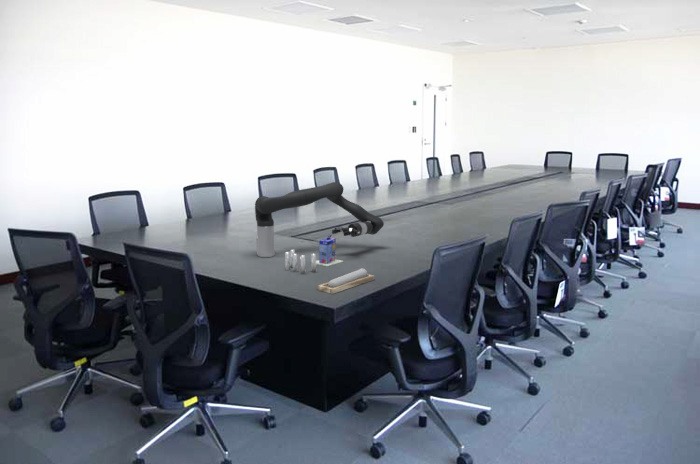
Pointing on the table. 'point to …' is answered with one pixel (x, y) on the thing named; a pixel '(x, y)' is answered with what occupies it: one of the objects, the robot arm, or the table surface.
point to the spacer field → (293, 261)
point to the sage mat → (329, 263)
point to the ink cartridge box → (327, 250)
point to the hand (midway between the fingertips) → (338, 232)
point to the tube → (348, 278)
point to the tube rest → (344, 285)
